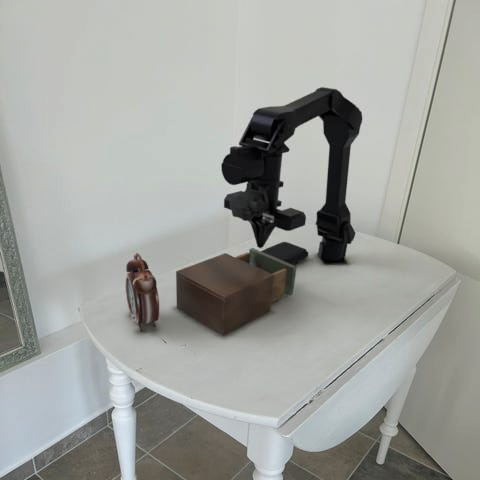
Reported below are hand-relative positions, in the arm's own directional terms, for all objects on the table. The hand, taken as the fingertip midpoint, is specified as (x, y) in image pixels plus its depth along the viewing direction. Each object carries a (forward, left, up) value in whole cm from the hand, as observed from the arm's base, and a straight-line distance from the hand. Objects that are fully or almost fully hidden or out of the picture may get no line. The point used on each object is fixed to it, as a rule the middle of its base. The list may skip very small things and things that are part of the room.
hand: (260, 247), depth 106 cm
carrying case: (-10, -18, -12) cm, 24 cm away
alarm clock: (+26, +10, -12) cm, 30 cm away
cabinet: (+9, +6, -12) cm, 16 cm away
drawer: (+1, +1, -11) cm, 11 cm away
